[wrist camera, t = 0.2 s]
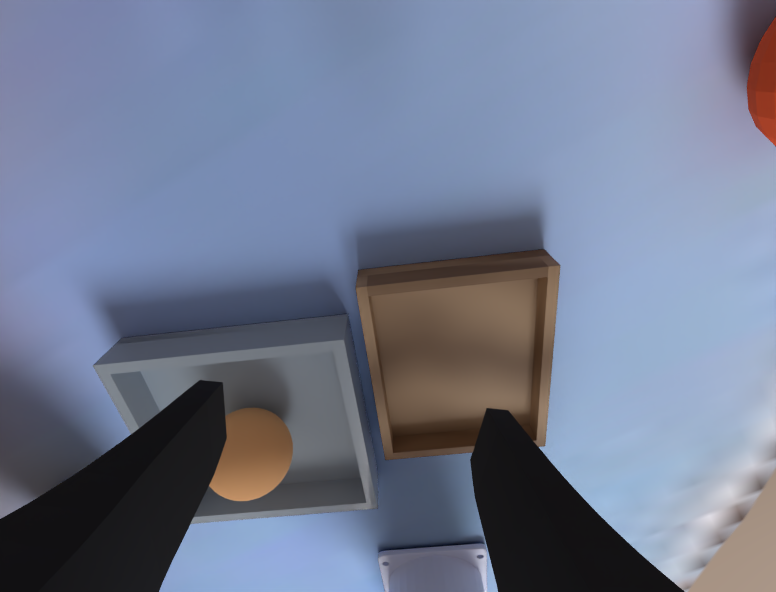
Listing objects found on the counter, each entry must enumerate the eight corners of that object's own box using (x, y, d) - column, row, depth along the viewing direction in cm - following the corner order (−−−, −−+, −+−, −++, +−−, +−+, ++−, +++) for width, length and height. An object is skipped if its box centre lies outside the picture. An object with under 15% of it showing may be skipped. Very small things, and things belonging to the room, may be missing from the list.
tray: (533, 419, 24) (545, 446, 22) (385, 433, 25) (385, 460, 23) (544, 249, 19) (560, 265, 18) (358, 269, 20) (355, 287, 18)
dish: (378, 474, 26) (377, 508, 24) (197, 490, 27) (181, 524, 25) (348, 313, 21) (343, 339, 19) (121, 338, 21) (92, 365, 19)
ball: (307, 445, 24) (291, 517, 20) (233, 452, 25) (202, 524, 20) (290, 386, 22) (268, 452, 18) (209, 393, 22) (170, 461, 18)
